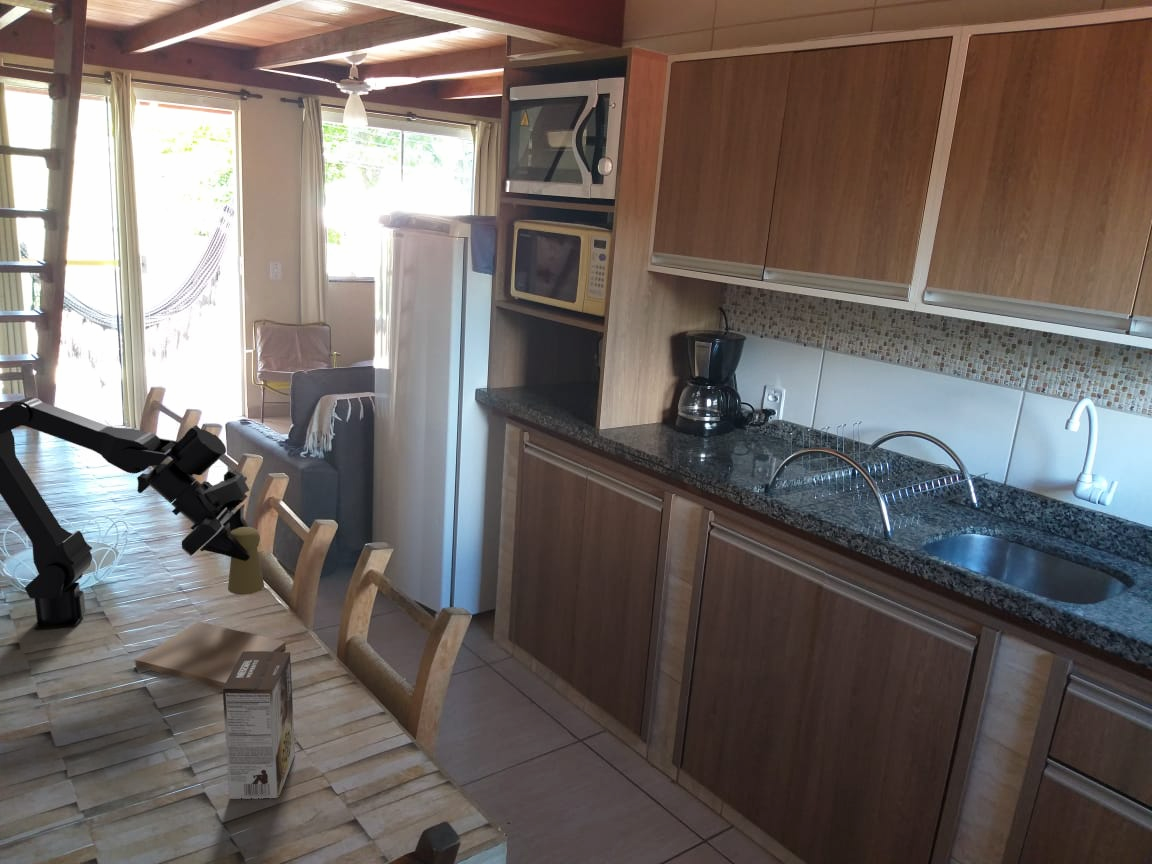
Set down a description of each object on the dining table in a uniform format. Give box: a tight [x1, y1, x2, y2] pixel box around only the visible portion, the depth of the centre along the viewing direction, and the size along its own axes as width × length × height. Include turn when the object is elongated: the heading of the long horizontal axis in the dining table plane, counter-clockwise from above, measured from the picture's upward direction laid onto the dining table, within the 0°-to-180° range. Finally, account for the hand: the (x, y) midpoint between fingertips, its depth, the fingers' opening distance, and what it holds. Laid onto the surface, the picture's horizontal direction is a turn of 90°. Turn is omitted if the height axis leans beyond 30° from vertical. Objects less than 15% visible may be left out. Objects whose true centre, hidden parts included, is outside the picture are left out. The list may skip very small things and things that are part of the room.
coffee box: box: [221, 651, 296, 800], centre depth 109 cm, size 9×6×16 cm
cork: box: [227, 526, 265, 596], centre depth 147 cm, size 6×6×11 cm
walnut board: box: [135, 621, 287, 690], centre depth 138 cm, size 18×14×1 cm
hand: (252, 552), depth 147 cm, fingers closed on cork, 5 cm apart
